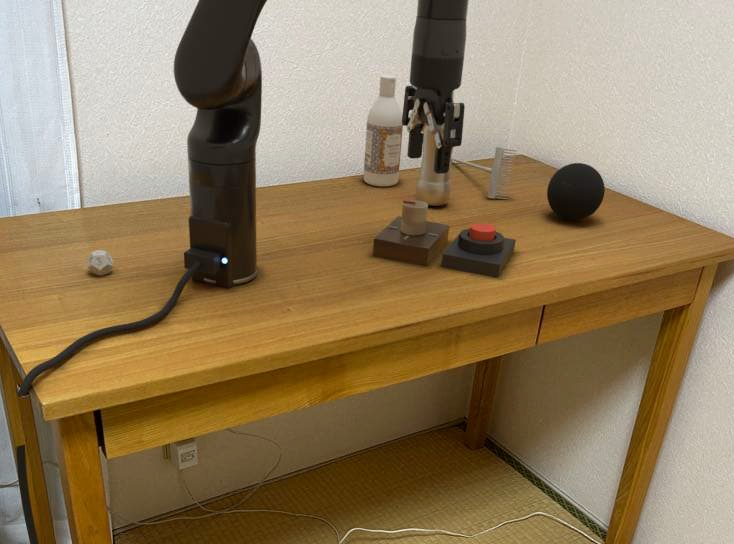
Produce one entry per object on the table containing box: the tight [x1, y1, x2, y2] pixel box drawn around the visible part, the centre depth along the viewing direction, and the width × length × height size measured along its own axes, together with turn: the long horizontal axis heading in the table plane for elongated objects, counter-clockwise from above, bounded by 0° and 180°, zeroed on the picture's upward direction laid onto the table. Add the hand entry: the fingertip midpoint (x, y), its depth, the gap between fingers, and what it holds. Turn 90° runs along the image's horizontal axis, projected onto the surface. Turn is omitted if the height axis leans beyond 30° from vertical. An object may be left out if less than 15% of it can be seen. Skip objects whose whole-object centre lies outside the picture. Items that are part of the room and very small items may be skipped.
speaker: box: [546, 162, 605, 221], centre depth 148 cm, size 10×10×10 cm
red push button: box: [469, 222, 497, 241], centre depth 129 cm, size 4×4×2 cm
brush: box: [451, 146, 518, 200], centre depth 168 cm, size 4×28×9 cm, turn 11°
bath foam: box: [363, 74, 404, 188], centre depth 158 cm, size 7×7×20 cm
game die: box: [86, 249, 114, 276], centre depth 118 cm, size 4×4×3 cm
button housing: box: [441, 227, 517, 279], centre depth 130 cm, size 12×9×4 cm
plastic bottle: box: [415, 91, 456, 207], centre depth 148 cm, size 6×7×20 cm
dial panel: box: [372, 215, 450, 268], centre depth 132 cm, size 12×9×3 cm
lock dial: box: [400, 199, 429, 235], centre depth 130 cm, size 4×4×5 cm
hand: (427, 165), depth 126 cm, fingers open, 8 cm apart
